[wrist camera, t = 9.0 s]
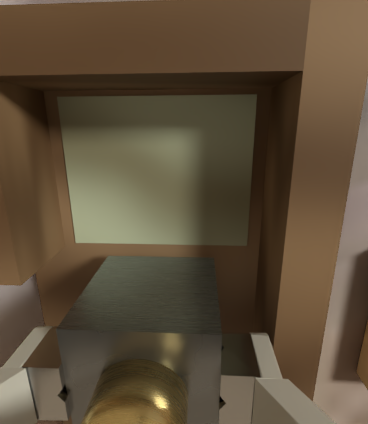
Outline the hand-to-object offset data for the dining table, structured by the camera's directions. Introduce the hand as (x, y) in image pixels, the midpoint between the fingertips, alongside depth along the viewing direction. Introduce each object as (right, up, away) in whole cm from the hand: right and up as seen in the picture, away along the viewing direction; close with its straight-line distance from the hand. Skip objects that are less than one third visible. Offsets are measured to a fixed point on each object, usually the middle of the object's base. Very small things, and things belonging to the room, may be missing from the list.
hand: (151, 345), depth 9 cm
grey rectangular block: (0, +1, +2) cm, 2 cm away
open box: (0, +1, +4) cm, 4 cm away
